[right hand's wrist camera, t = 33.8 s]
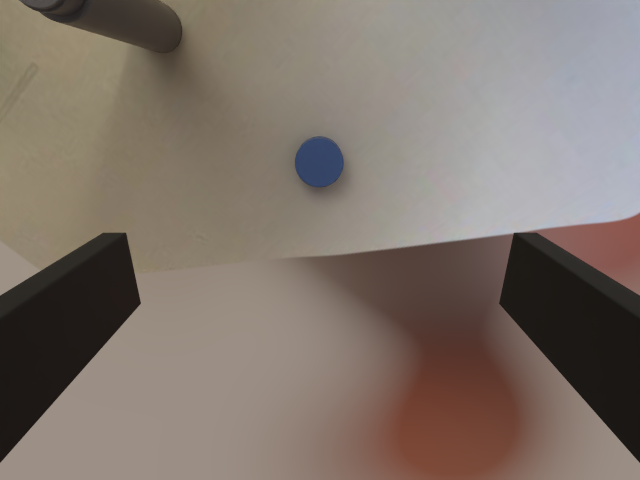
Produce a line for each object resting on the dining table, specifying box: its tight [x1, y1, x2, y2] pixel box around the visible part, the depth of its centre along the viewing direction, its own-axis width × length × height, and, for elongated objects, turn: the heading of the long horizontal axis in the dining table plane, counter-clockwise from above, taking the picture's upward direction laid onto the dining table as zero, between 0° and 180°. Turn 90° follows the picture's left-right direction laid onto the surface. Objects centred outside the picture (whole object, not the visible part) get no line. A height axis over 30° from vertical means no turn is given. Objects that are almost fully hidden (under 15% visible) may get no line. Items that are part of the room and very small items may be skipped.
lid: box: [295, 137, 343, 187], centre depth 36 cm, size 5×5×2 cm
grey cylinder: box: [20, 0, 182, 53], centre depth 25 cm, size 4×4×16 cm
